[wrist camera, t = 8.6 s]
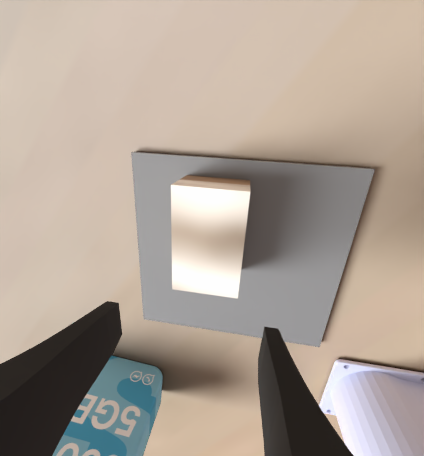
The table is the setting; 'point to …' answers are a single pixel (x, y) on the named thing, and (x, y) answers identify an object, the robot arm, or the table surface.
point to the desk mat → (255, 244)
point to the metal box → (208, 234)
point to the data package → (115, 412)
